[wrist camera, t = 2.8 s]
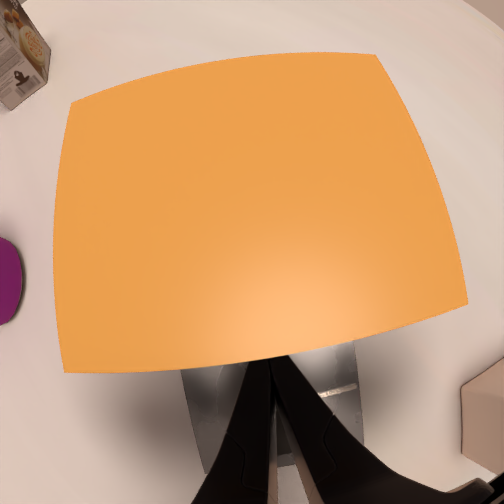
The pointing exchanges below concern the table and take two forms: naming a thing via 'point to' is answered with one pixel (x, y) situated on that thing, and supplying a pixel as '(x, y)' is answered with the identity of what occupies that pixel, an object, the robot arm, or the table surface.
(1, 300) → the beverage can
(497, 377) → the medicine bottle
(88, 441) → the table surface
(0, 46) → the coffee box
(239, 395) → the robot arm
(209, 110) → the fader knob
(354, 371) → the board
